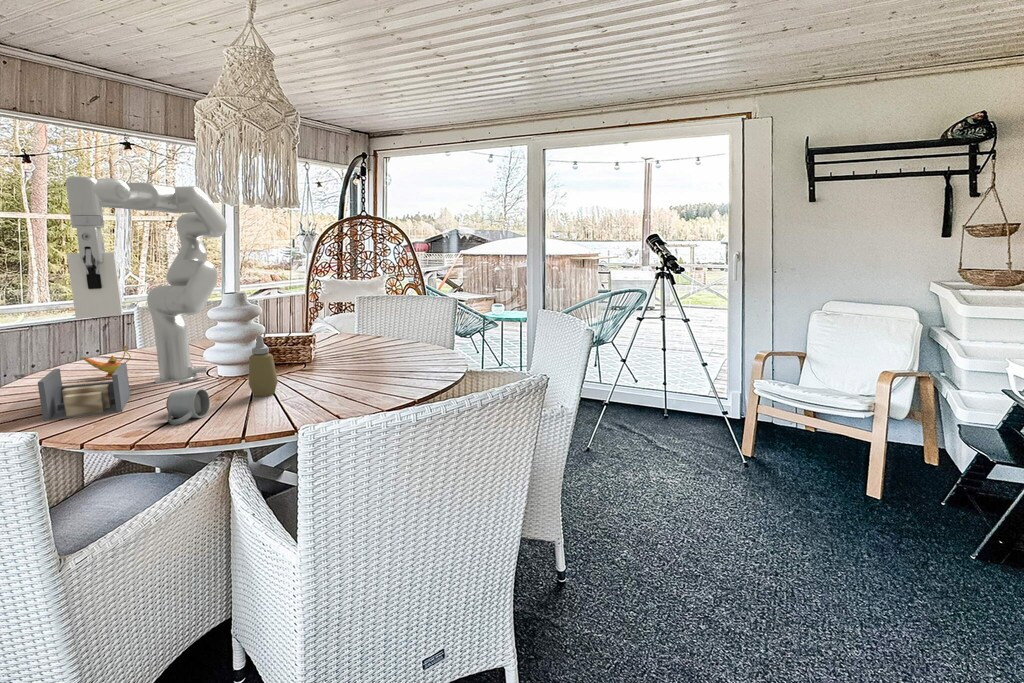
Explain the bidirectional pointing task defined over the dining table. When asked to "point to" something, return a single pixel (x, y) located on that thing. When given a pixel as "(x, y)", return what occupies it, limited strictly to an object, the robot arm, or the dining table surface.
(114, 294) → the white panel
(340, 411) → the dining table surface
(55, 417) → the rack
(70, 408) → the oak offcut short
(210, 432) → the dining table surface
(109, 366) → the magic lamp
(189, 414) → the ceramic mug
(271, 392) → the squeeze bottle
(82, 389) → the oak offcut tall
